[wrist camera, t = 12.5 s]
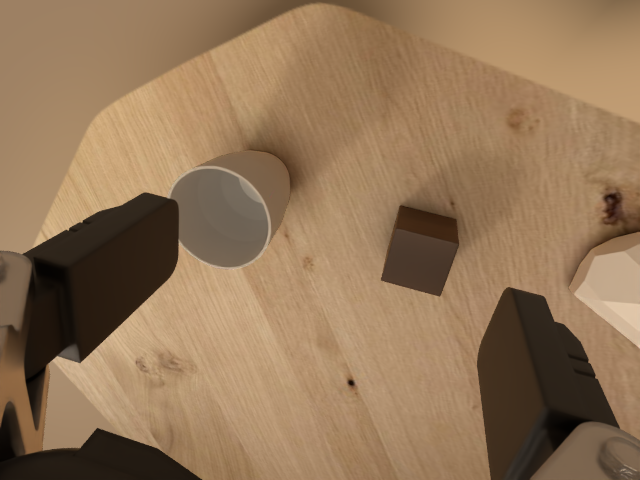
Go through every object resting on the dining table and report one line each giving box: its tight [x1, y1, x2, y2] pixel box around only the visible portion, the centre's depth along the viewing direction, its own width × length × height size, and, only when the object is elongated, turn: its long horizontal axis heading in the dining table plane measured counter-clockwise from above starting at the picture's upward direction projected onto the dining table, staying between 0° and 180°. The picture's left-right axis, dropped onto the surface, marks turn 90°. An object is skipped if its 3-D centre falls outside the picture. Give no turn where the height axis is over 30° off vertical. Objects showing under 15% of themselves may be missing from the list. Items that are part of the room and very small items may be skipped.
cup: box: [167, 150, 290, 269], centre depth 36 cm, size 8×8×10 cm
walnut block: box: [381, 206, 459, 296], centre depth 38 cm, size 5×5×5 cm
